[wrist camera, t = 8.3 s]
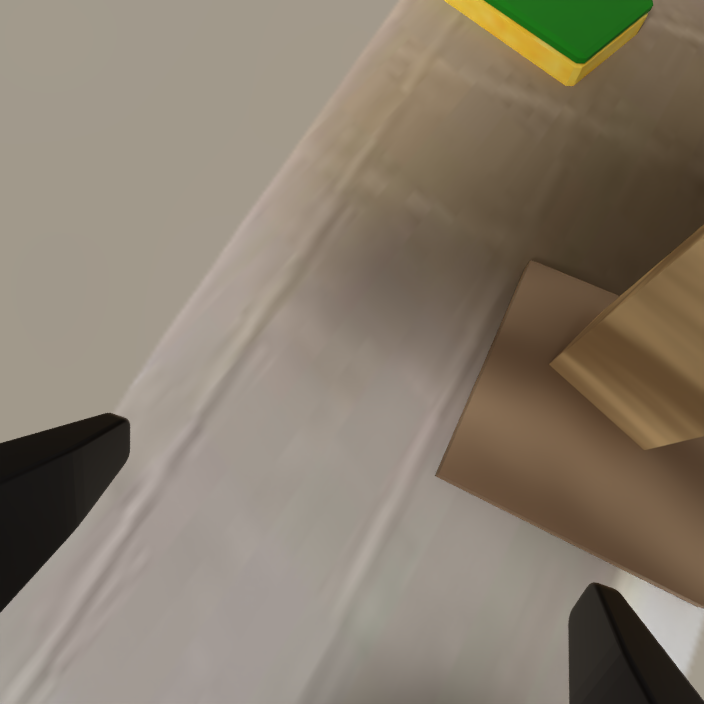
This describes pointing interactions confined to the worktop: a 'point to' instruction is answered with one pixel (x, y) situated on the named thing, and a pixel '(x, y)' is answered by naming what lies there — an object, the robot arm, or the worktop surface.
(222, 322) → the worktop surface
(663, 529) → the base board
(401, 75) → the worktop surface
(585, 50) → the dish sponge
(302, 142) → the worktop surface
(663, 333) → the wooden block
